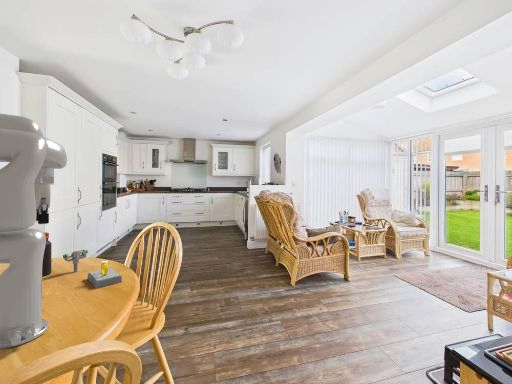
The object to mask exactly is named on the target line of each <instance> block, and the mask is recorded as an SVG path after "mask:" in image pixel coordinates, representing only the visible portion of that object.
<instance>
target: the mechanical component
mask: <svg viewBox="0 0 512 384" xmlns="http://www.w3.org/2000/svg"><path fill="white" fill-rule="evenodd" d="M88 253H89V250H88V249H81V250H76V251H72V252H71V254H70V255H69V254H68V253H65V254H63V255H62V258H63V260H64V261H66V262H72V264H73V272H74V273H78V269H79V267H78V265H79V262H80V260H82V259H86V257H87V254H88Z"/></svg>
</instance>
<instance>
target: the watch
mask: <svg viewBox="0 0 512 384" xmlns="http://www.w3.org/2000/svg"><path fill="white" fill-rule="evenodd" d="M108 264H109V260H102V261H100V270H101V272H102V274H103V275H107V273H108V268H109V265H108Z"/></svg>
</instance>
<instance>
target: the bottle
mask: <svg viewBox="0 0 512 384" xmlns="http://www.w3.org/2000/svg"><path fill="white" fill-rule="evenodd" d="M43 232H44V231H43ZM44 234H45V236H46V245H45V250H44V256H43V264H42V277H46V276H49V275H50V274H51V273H52V242H51V241H50V240H49V238H50V233H49V232H47V231H46V232H44Z"/></svg>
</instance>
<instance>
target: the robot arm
mask: <svg viewBox="0 0 512 384" xmlns="http://www.w3.org/2000/svg"><path fill="white" fill-rule="evenodd" d="M0 163H7V164H5V166H3V167H1V168H0V264H1V265H4V264H8V266H7V267H6V268H5V269H4V270H3V271H2V272H1V273H0V349H7V348H13V347H16V346H20V345H23V344H26V343H28V342H31V341H33V340H35V339H37V338H38V337H40V336H41V335H43V334H44V333H45V332H47V330H48V329H49V321H48V320H46V319H43V276H42V264H43V256H44V250H45V245H46V236H45V234H44V231H42V230H40V229H37V228H32V227H33V226H34V225H35V224H36V222H37V223H38V225H47V224H48V225H49V223H50V213H49V209H50V207H51V185H55V169H57V170H58V169H59V170H61V169H64V168H65V167H66V166H67V163H68V157H67V153H66V150H65V148H64V146H63V145H61V144H60V143H58V142H56V141H53V140H51V139H49V138H46V137H44V134H43V132H42V130H41V128H40V126H39V125H38V124H37V122H35V121H34V120H32V119H30V118H28V117H25V116H21V115H15V114H6V113H0Z"/></svg>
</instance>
